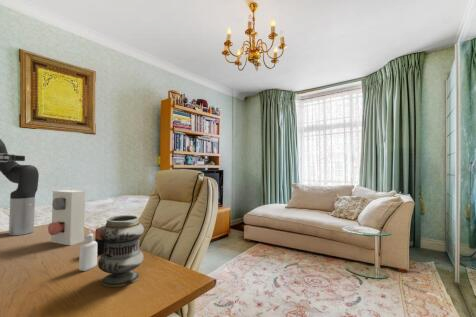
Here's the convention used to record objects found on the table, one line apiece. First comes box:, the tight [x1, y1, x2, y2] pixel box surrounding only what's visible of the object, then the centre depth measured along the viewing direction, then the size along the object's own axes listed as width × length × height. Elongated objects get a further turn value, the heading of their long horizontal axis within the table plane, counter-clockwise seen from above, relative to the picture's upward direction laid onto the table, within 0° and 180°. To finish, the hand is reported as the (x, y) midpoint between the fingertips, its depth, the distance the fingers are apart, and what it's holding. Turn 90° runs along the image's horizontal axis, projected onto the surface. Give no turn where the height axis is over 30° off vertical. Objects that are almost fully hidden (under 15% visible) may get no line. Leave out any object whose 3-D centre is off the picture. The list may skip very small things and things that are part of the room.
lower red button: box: [47, 222, 65, 236], centre depth 104 cm, size 7×5×5 cm
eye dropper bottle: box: [78, 230, 98, 272], centre depth 80 cm, size 4×6×12 cm
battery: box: [94, 225, 105, 256], centre depth 95 cm, size 4×7×10 cm, turn 138°
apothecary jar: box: [97, 214, 145, 288], centre depth 72 cm, size 12×12×18 cm
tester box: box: [50, 189, 86, 246], centre depth 107 cm, size 6×12×22 cm, turn 69°
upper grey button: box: [52, 198, 65, 210], centre depth 106 cm, size 7×5×5 cm
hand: (23, 158), depth 102 cm, fingers closed
